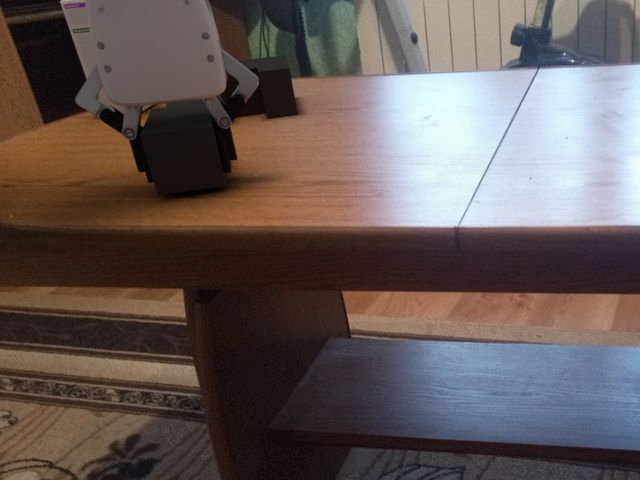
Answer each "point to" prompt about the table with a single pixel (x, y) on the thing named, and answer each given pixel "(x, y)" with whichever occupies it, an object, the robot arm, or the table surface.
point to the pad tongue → (182, 148)
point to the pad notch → (266, 88)
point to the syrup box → (84, 42)
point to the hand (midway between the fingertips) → (190, 171)
